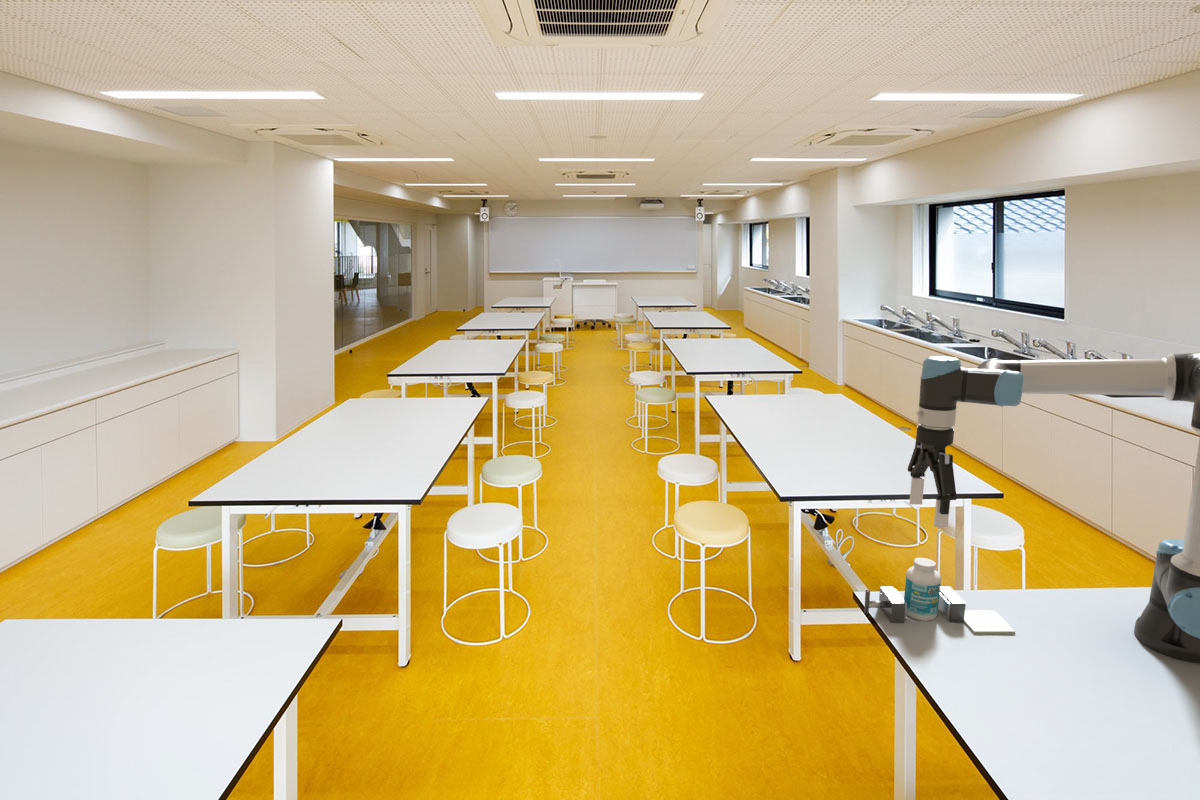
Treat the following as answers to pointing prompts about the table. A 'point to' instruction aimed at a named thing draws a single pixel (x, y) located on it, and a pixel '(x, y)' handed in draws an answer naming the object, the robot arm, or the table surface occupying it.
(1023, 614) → the table surface
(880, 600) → the vise
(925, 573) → the pill bottle
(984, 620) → the pad
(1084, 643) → the table surface
